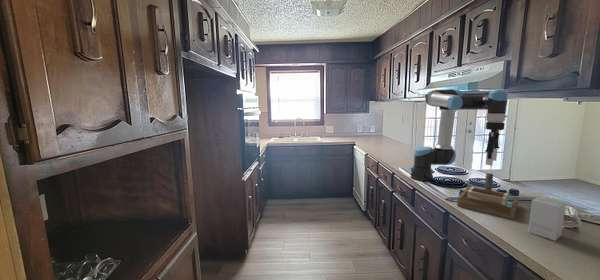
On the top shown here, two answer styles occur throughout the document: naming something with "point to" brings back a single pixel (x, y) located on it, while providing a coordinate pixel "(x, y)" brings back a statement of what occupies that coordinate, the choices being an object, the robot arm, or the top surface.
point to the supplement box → (547, 217)
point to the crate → (488, 193)
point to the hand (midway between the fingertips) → (491, 162)
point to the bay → (488, 206)
